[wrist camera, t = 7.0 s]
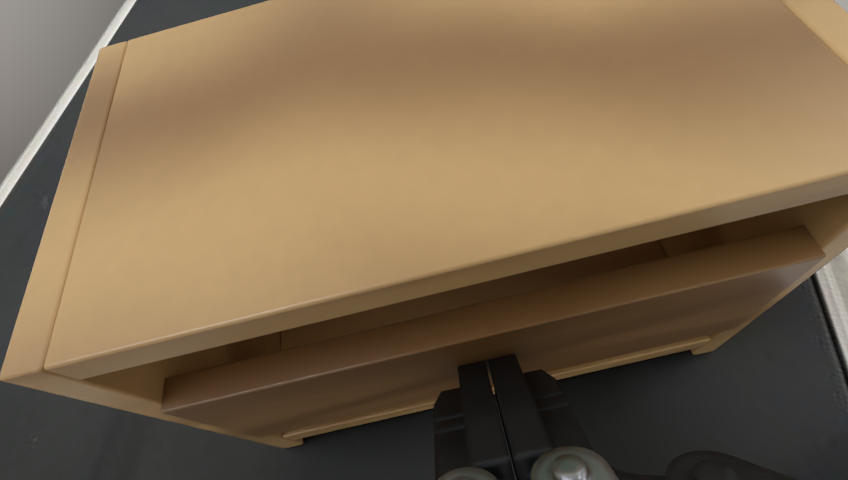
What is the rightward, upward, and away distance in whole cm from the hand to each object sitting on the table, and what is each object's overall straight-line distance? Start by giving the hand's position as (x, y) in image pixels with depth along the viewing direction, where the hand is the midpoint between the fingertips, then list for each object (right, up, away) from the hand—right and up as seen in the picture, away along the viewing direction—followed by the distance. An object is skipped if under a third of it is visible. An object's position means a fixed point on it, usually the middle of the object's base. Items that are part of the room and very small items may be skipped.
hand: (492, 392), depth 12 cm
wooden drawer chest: (0, +2, +7) cm, 8 cm away
